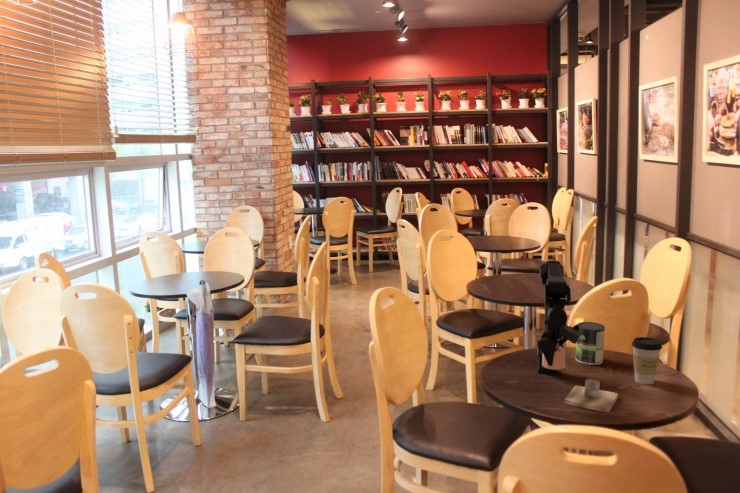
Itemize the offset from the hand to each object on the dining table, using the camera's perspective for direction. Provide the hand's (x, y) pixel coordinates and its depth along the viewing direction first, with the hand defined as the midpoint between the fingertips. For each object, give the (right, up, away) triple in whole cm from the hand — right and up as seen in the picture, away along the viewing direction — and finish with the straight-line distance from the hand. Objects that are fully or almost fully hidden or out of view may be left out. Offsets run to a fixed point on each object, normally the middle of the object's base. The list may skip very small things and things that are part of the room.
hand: (553, 362), depth 217 cm
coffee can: (+23, -5, +33) cm, 41 cm away
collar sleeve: (0, -1, 0) cm, 1 cm away
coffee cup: (+36, -9, +11) cm, 38 cm away
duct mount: (+11, -12, -5) cm, 17 cm away
